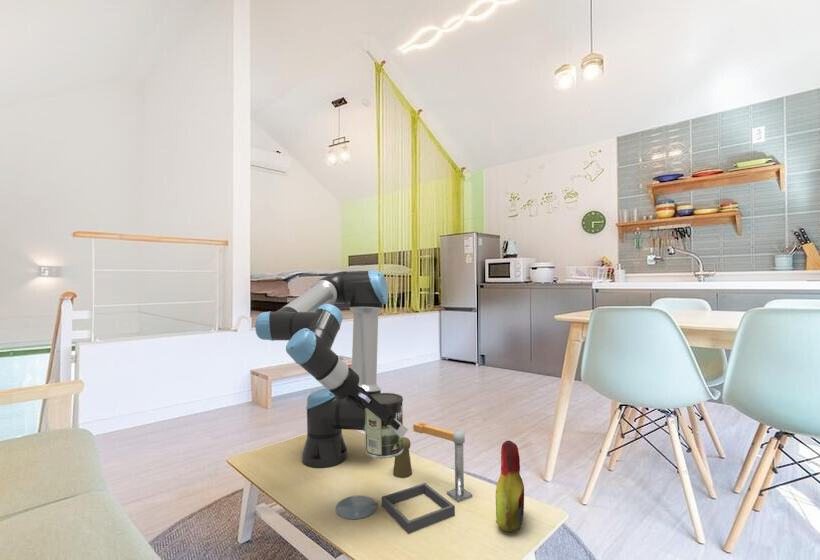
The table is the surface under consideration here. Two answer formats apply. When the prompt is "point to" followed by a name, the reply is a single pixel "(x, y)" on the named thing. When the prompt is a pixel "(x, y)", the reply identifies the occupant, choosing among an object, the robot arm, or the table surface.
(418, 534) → the table surface
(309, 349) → the robot arm
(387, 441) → the coffee can
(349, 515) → the slate coaster
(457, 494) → the post
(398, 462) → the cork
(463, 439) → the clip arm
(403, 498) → the square picture frame
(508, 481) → the bottle
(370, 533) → the table surface
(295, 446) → the table surface
